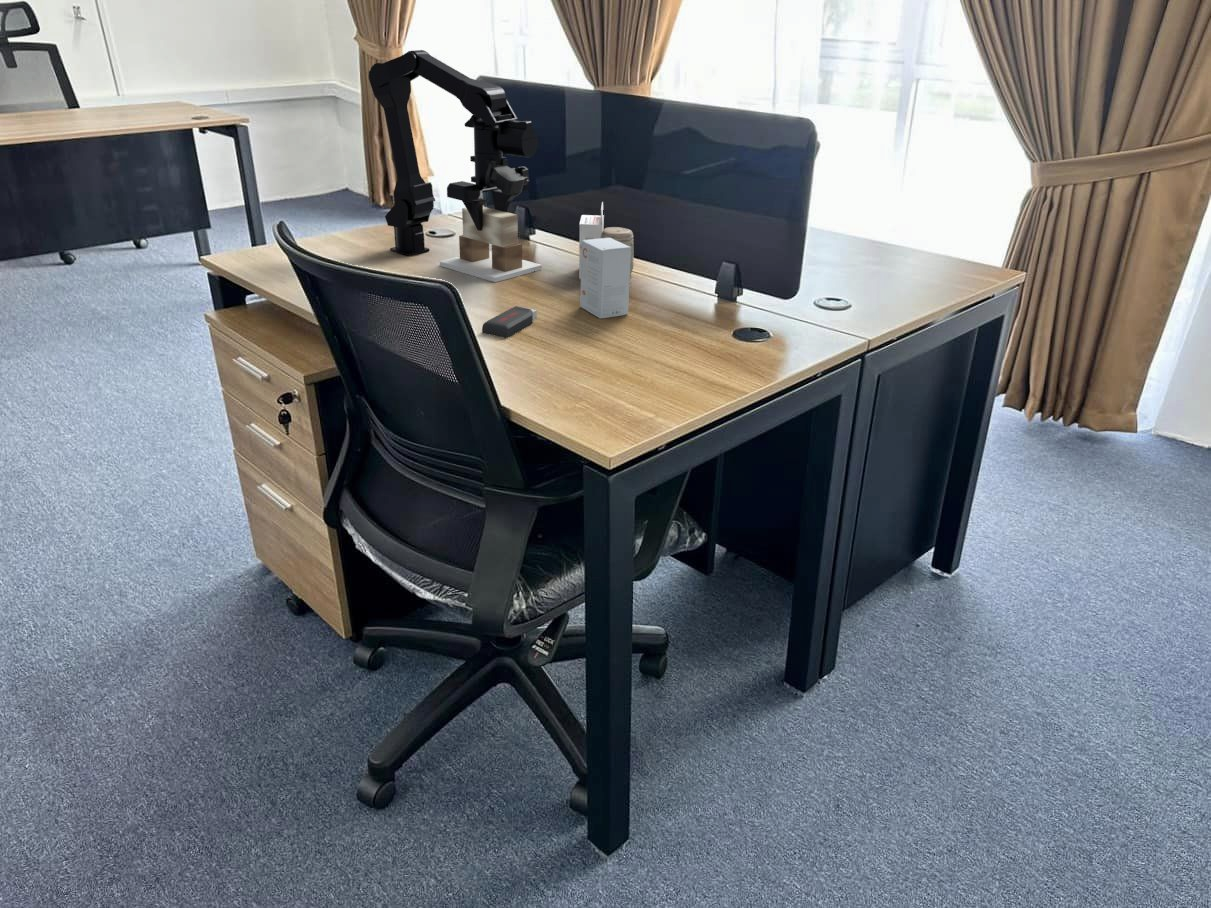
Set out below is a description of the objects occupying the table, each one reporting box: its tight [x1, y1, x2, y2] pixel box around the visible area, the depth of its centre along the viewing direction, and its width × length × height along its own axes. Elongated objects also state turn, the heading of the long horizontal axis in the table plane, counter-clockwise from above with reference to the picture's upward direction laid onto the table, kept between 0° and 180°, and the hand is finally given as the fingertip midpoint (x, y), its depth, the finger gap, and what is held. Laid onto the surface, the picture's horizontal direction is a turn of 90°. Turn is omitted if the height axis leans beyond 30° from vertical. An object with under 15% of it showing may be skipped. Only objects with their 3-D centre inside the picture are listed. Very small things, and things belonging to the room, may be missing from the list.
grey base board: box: [439, 250, 543, 283], centre depth 202 cm, size 17×14×1 cm
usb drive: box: [481, 305, 538, 339], centre depth 169 cm, size 5×12×3 cm, turn 154°
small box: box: [579, 238, 631, 319], centre depth 176 cm, size 8×6×13 cm
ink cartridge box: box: [578, 201, 605, 280], centre depth 198 cm, size 9×5×15 cm, turn 179°
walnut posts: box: [458, 234, 523, 272], centre depth 201 cm, size 14×5×5 cm, turn 50°
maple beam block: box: [461, 206, 519, 247], centre depth 199 cm, size 12×4×6 cm, turn 50°
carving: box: [601, 226, 635, 286], centre depth 190 cm, size 6×8×12 cm
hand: (489, 228), depth 199 cm, fingers open, 6 cm apart
